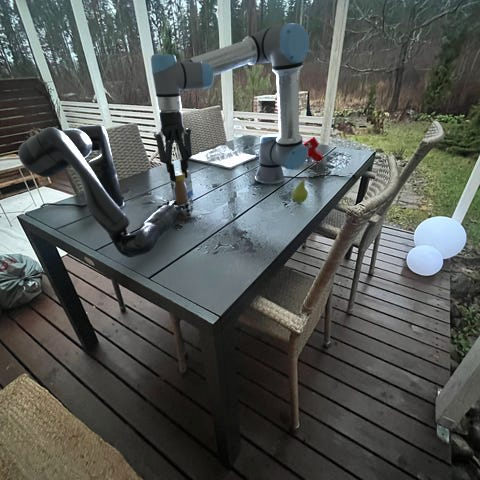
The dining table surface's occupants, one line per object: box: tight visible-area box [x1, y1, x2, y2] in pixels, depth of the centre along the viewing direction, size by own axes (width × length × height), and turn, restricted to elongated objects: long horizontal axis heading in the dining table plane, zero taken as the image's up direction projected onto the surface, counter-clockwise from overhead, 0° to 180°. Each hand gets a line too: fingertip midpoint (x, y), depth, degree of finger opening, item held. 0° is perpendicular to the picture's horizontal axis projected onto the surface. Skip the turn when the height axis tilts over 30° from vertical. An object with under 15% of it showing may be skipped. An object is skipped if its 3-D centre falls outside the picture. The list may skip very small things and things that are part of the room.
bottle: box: [174, 180, 191, 220], centre depth 106 cm, size 5×5×18 cm
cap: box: [175, 172, 185, 181], centre depth 101 cm, size 4×4×2 cm
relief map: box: [189, 144, 257, 170], centre depth 178 cm, size 27×35×5 cm
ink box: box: [168, 169, 194, 200], centre depth 124 cm, size 8×5×12 cm, turn 135°
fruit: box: [291, 174, 311, 204], centre depth 118 cm, size 7×8×12 cm
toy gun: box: [302, 136, 324, 164], centre depth 170 cm, size 18×4×15 cm
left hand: (185, 200), depth 109 cm, fingers closed on bottle, 4 cm apart
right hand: (179, 178), depth 102 cm, fingers closed on cap, 4 cm apart
